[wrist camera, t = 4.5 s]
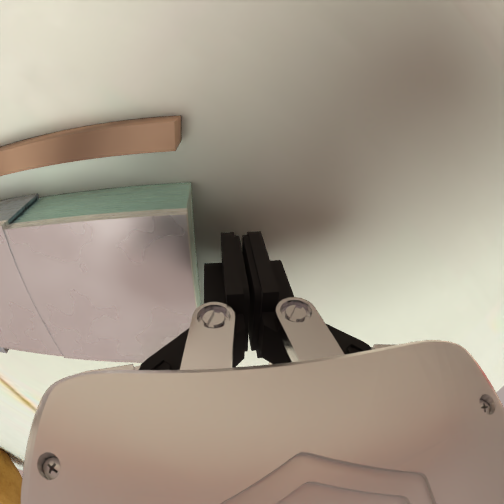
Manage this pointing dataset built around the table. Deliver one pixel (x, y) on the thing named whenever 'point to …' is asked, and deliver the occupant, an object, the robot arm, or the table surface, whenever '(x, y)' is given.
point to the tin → (110, 268)
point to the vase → (9, 481)
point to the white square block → (19, 293)
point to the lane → (92, 144)
